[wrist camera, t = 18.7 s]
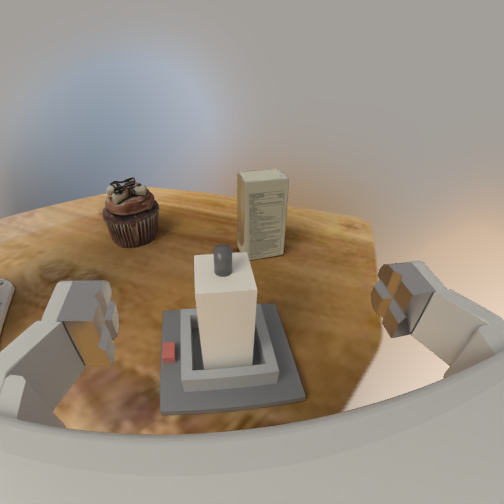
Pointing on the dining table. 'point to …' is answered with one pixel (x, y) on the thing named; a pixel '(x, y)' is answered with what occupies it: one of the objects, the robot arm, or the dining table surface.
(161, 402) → the socket plate
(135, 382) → the dining table surface
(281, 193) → the skincare box
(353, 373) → the dining table surface
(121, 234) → the cupcake
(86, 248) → the dining table surface
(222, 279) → the plug
